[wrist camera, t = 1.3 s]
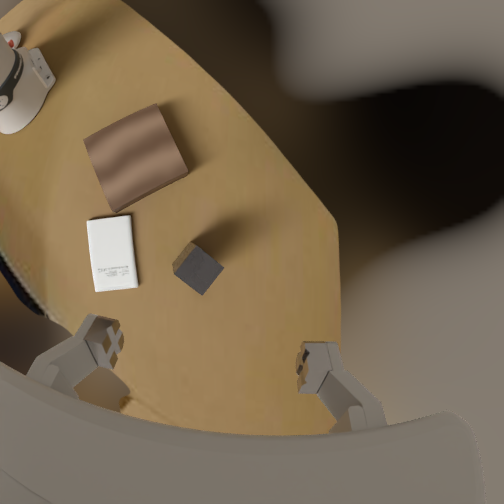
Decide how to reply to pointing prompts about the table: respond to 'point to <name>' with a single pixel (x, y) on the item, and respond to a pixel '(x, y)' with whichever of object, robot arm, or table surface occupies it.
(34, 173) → the table surface
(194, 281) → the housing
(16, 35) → the flower in vase
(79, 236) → the table surface
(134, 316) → the table surface
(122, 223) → the external hard drive
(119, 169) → the stand
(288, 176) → the table surface
